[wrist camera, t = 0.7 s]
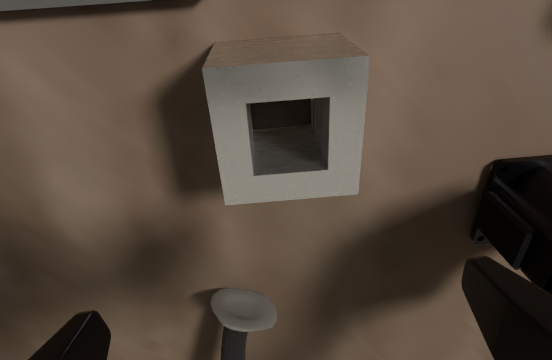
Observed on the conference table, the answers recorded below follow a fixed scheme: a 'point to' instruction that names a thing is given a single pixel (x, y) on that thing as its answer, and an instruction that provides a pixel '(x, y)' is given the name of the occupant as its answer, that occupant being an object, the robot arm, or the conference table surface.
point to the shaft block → (52, 3)
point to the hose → (241, 318)
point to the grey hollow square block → (291, 139)
